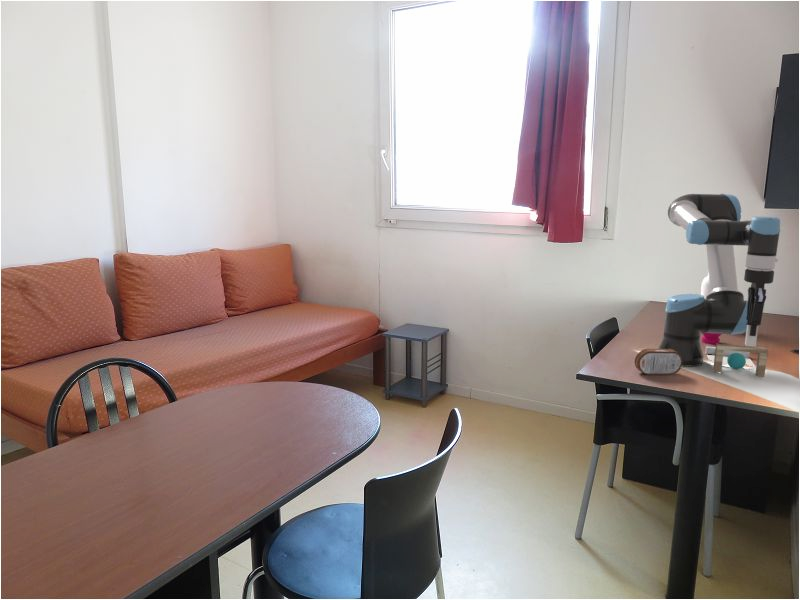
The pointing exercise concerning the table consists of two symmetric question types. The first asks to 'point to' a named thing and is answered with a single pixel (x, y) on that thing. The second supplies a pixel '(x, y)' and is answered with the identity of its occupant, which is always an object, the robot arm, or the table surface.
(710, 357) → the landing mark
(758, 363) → the bridge
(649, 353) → the tin
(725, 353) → the stopper wall
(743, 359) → the ball
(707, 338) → the pepper mill
